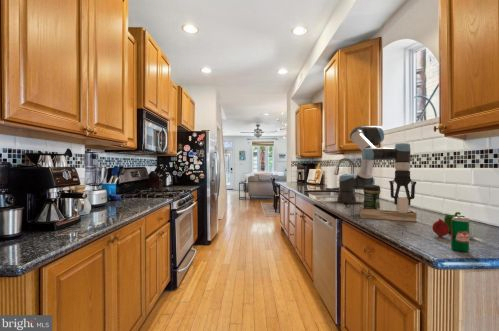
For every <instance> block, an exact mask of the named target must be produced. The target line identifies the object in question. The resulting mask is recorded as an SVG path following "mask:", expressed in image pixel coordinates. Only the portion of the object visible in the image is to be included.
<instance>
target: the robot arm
mask: <svg viewBox="0 0 499 331" xmlns="http://www.w3.org/2000/svg"><path fill="white" fill-rule="evenodd" d="M349 139H350V141H351V142H352V143H353V144H356V146H357V147H358V149H359V150H361V157H362V159H361V164H360V170H359V171H358V172H357V175H355V174H354V173H348V174H345V173H344V174H341V175H340V176H339V180H338V181H339V182H338V191H339V192H338V195H337V198H336V202H337V203H341V204H342V203H343V204H357V198H356V194H355V190H357V191H358V190H359V191H361V190H362V191H363V188H364V185H376V182H375V181H376V179H375V176H374V175H373V169H374V168H373V167H374V163H375V161H394V170H395V171H394V178H393V179H391V180H389V181H388V182H389V185H390V189H389V190H390V197H391V199H392V198H393V201H394V202H393V204H394V205H395V206H396V209H395V211H399V199H397V198H398V196H399V193H400V190H401V187H404V190H405V194H406V197H407V211H409V206H411V202H412V201H411V200H414V199H415V194H416V184H417V181H415V180H412V179H411V150H412V148H411V144H410V143H407V142H400V143H399V142H398V143H395V144H394V147H378V146H380V144H381V142H383V141H384V139H385V131H384V128H383V127H382V126H379V125H369V126H368V125H364V126H363V125H360V126H356V127H354V128H353V129H352V130H351V132H350V133H349ZM394 184H396V189H395V192H394V188H395V187H394ZM409 184H411V185H410V186H411V187H410V190H409Z"/></svg>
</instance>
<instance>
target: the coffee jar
mask: <svg viewBox="0 0 499 331" xmlns="http://www.w3.org/2000/svg"><path fill="white" fill-rule="evenodd" d="M362 191H363V195H364V196H363V197H364V198H363V207H362V208H363V209H376V210H381V205H380V204H381V203H380V194H381V186H380V185H377V184H374V185H364V188H363V190H362Z"/></svg>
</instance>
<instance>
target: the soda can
mask: <svg viewBox="0 0 499 331" xmlns="http://www.w3.org/2000/svg"><path fill="white" fill-rule="evenodd" d="M458 216H459V215H457V216H454V217H453V218H452V219H451V233H450V248H451V249H452V250H453V251H456V252H458V251H459V252H460V253H468V252H469V251H470V220H469V218H467V217H465V216H464V217H458ZM459 252H458V253H459Z"/></svg>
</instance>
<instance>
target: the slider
mask: <svg viewBox="0 0 499 331" xmlns="http://www.w3.org/2000/svg"><path fill="white" fill-rule="evenodd" d="M397 199H399V211H397V210H396V211H397V213H407V195H406V196H404V195H403V196H402V195H398V198H397Z"/></svg>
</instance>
